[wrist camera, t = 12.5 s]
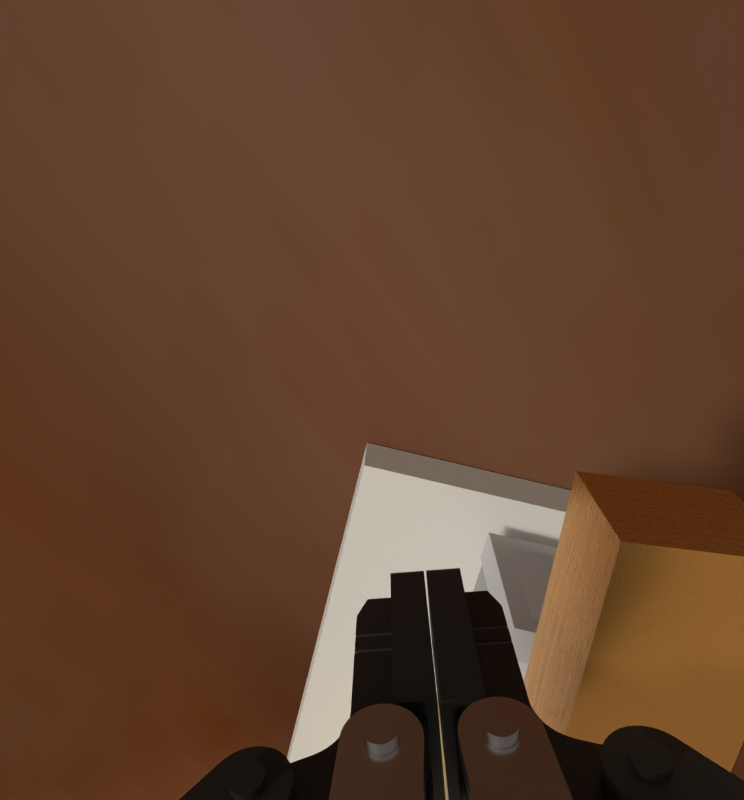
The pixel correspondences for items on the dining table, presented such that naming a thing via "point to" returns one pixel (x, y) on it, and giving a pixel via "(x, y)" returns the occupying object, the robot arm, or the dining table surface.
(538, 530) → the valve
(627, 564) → the lever
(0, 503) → the dining table surface
